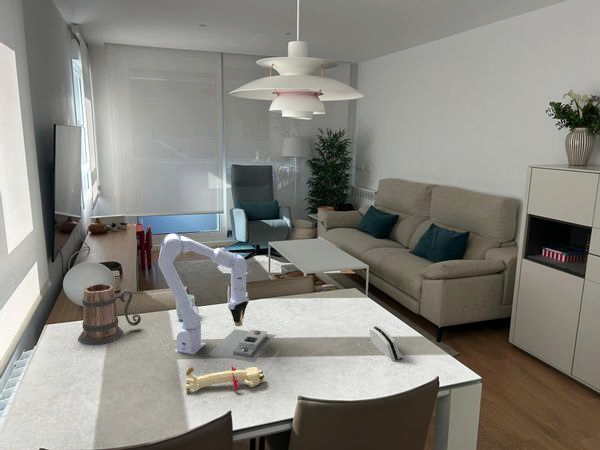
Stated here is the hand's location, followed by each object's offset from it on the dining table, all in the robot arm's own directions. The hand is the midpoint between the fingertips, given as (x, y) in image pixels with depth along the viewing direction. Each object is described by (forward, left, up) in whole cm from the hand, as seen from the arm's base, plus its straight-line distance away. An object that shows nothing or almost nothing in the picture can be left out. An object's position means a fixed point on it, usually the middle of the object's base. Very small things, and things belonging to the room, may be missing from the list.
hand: (238, 320), depth 174 cm
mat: (-1, -3, -9) cm, 10 cm away
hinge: (+12, -55, -10) cm, 57 cm away
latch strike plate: (-1, -6, -9) cm, 11 cm away
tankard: (-9, +51, -10) cm, 53 cm away
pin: (0, 0, -2) cm, 2 cm away
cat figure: (-30, -9, -10) cm, 33 cm away
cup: (+15, +31, -10) cm, 36 cm away
